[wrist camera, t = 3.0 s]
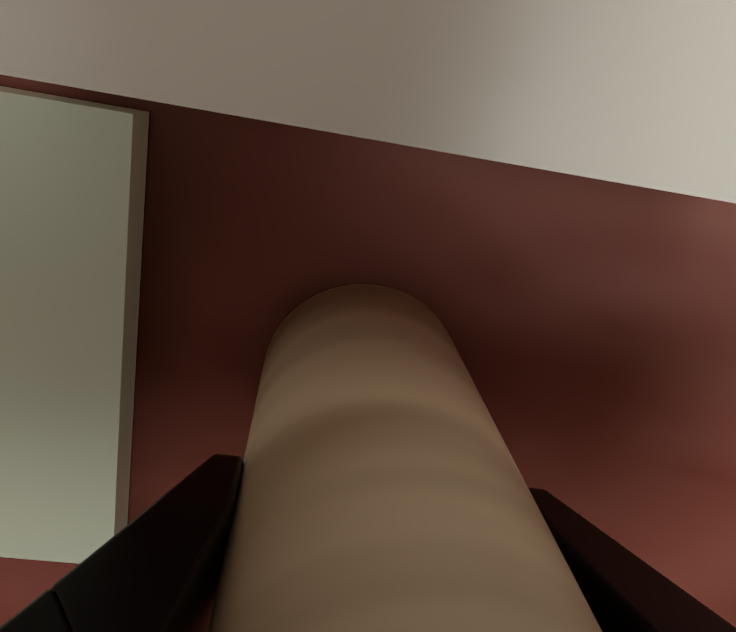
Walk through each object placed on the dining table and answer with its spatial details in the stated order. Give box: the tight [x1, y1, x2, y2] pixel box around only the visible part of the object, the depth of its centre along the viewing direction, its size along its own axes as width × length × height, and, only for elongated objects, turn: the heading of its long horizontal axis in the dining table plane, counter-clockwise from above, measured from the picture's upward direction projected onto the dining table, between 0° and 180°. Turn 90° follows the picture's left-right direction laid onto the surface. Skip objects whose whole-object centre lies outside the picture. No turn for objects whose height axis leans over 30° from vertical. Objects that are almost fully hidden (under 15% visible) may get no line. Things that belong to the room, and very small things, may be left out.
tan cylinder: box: [208, 284, 602, 632], centre depth 8 cm, size 4×4×10 cm
